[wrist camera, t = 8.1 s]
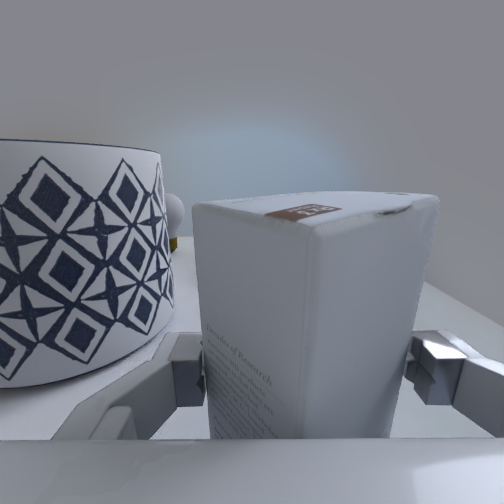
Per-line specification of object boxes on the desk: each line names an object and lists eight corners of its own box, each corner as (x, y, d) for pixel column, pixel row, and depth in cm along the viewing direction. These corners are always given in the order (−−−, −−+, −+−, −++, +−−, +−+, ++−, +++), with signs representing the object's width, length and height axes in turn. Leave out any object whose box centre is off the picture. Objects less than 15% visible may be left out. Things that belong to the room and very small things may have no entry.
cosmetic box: (304, 413, 14) (319, 187, 11) (388, 485, 11) (447, 192, 8) (206, 501, 11) (181, 196, 7) (290, 649, 7) (318, 215, 4)
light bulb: (168, 246, 48) (162, 190, 45) (194, 249, 46) (190, 191, 43) (143, 255, 43) (135, 193, 40) (171, 259, 41) (164, 194, 38)
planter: (191, 351, 19) (173, 144, 15) (-122, 438, 13) (-297, 127, 9) (165, 278, 33) (152, 159, 29) (6, 303, 27) (-39, 156, 23)
